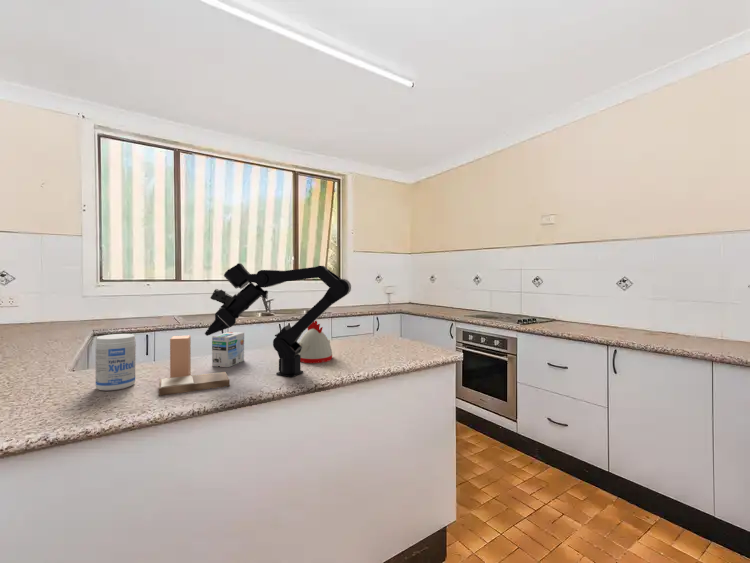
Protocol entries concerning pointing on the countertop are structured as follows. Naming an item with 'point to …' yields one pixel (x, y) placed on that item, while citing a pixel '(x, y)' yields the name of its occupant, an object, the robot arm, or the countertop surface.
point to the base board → (193, 383)
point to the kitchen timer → (315, 345)
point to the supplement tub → (115, 361)
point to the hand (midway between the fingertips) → (207, 331)
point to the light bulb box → (227, 349)
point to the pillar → (180, 356)
